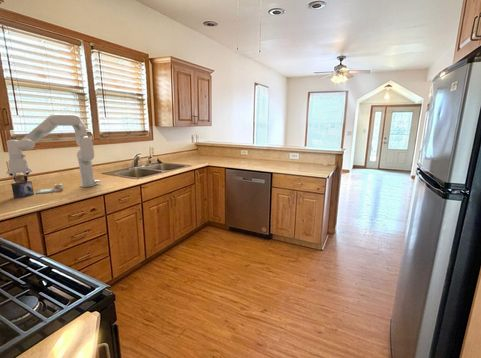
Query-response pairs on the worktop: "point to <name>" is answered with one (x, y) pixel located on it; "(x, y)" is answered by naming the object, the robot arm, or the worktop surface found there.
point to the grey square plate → (45, 191)
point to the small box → (22, 189)
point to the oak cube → (58, 187)
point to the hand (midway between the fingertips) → (21, 181)
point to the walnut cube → (20, 179)
